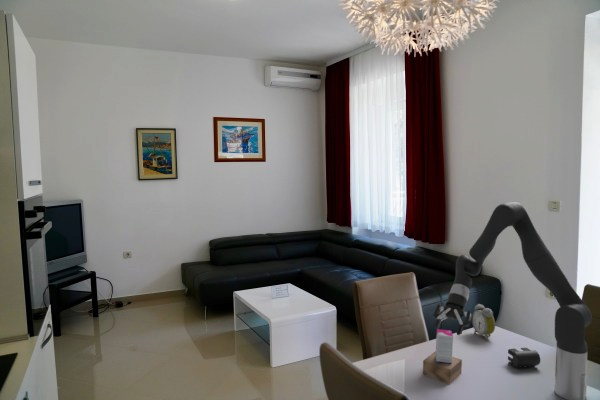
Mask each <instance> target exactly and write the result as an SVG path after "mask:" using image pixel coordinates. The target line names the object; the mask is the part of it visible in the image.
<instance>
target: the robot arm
mask: <svg viewBox="0 0 600 400" xmlns="http://www.w3.org/2000/svg"><path fill="white" fill-rule="evenodd" d="M508 227H513V229H514V231H515V232H516V234H517V235H518V237H519V241H520V243H521V244H520V245H521V253H522V258H523V260H524V263H525V264H526V265H527V268H528V269H529V271H530V272H531V274H532V275H533V277H535V279H536V280H537V281H538V282H539V283H541V285H542V286H544V287H545V288H546V289H547V290H548V291H549V292H550V293H551V294H552V295H553V297H554V299H555V300H556V302H557V303H558V305H559V308H557V310H556V311H555V315H554V339H555V341H556V350H555V366H554V367H555V368H554V369H555V372H554V373H555V374H554V376H555V377H554V393H555V395H557V396H558V397H560V398H563V399H565V400H586V397H587V385H588V384H587V383H588V370H587V364H588V351H589V350H588V348H589V347H588V343H587V342H586V340H585V332H586V331H585V330H586V329H585V328H588V326H589V325H590V324H591V323H592V320H593V315H592V312H591V311H590V308H589V307H588V306H587V305H586V303H585V302H584V300H583V299H582V298H581V297H580V296H579V294H578V293H577V292H576V291H575V289H574V288H573V287H572V285H571V283H570V282H569V281H568V278H567V276H566V275H565V274H564V272H563V271H562V269H561V267H560V266H559V264H558V263H557V261H556V259H555V258H554V256H553V254H552V253H551V251H550V250H549V249H548V247H547V245H546V244H545V243H544V240H543V239H542V238H541V236H540V234H539V233H538V231H537V229H536V227H535V226H534V224H533V222H532V220H531V218H530V216H529V214H528V212H527V210H526V208H525V207H524V206H523V204H521V203H519V202H518V201H509V202H505V203H501V204H499V205H497V206H496V207H495V208H494V210H493V211H492V214H491V215H490V218H489V220H488V221H487V223H486V225H485V227H484V229H483V231H482V232H481V234H480V235H479V237H478V238H477V240H476V241H475V243H473V245H471V246H472V247H470V249H469V251H468V253H469V256H470V257H469V256H468V255H465V254H461V255H459V256H458V257H457V259H456V261H455V277H454V281H453V284H452V286H451V288H450V291H449V294H448V296H447V299H446V303H445V305H444V306H441V304H437V306H436V307H435V310H434V312H433V315H432V316H433V318H434V319H435V320H436V321H435V324H434V327H435V330H437V329H440V328H441V327H440V326H441V323H442V321H444V320H445V321H446V319H448V320H453V321H457V320H458V323H459V324H458V326H457V329H456V335H457V336H460V335H462V333H463V331H464V328H470V324H471V322H472V313H471V311H470V310H468V311H465V310H466V307H467V304H468V303H467V302H468V301H469V297H470V291H471V287H472V285H473V279H472V277H476V276H478V275H479V274H480V273H481V270H482V267H483V264H484V262H485V260H486V259H487V257H488V256H489V255H490V254H491V252H492V251H493V249H494V248H495V246H496V242H497V239H498V237H499V235H500V234H501V233H502V232H503V231H504V230H506V229H507V228H508ZM441 312H442V313H441ZM463 316H465V320H464V322H463V320H462V317H463Z"/></svg>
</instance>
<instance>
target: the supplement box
mask: <svg viewBox="0 0 600 400" xmlns="http://www.w3.org/2000/svg"><path fill="white" fill-rule="evenodd" d="M435 337H436V339H435V342H436V343H435V351H436V354H435V357H436V362H437V363H445V364H452V357H453V343H454V335H453V332H452V330H449V329H448V330H447V329H440V328H439V329H436V336H435Z"/></svg>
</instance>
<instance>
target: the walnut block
mask: <svg viewBox="0 0 600 400" xmlns="http://www.w3.org/2000/svg"><path fill="white" fill-rule="evenodd" d="M435 354H436V350H435V351H434V352H432V353H431V354H430V355H428V356H427V357H426V358H424V359H423V361H422V362H423V363H422V375H423V376H427V377H429V378H431V379H435V380H438V381H441V382H444V383H446V384H449V385H451V384H452V383H453V382H454V381H455V380H456V379H457V378H459V376H460V375H462V371H463V370H462V366H463V365H462V363H463V362H462V361H463V360H462V359H461V358H457V357H454V356H452V364H445V363H437V362H436V357H435Z"/></svg>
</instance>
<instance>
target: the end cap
mask: <svg viewBox="0 0 600 400" xmlns="http://www.w3.org/2000/svg"><path fill="white" fill-rule="evenodd" d="M507 353H508V356H507V362H508V365H510V366H511V367H512V368H514V369H517V368H518V369H519V368H529V367H537V366H539V365H540V363H541V357H540V354H539V352H538V351H537V350H535V349H534V350H533V349H532V350H531V349H529V348H528V347H526V346H525V347H521V348H520V350H517V349H516V348H509V349H507ZM509 355H511V356H509Z"/></svg>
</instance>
